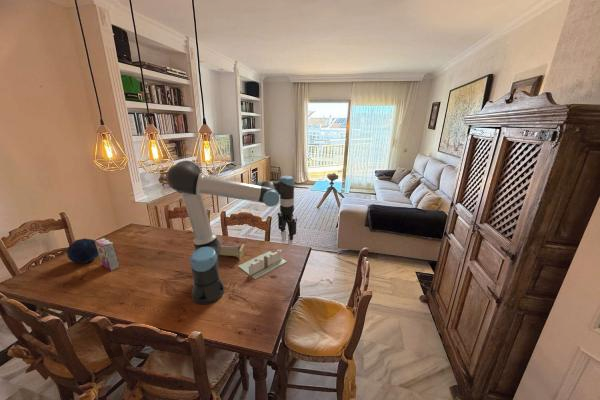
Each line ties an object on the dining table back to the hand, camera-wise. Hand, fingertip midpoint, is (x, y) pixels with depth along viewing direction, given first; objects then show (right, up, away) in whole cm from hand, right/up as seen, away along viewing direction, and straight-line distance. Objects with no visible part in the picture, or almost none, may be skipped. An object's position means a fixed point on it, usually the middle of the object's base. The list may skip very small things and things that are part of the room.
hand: (287, 242), depth 135 cm
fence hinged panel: (-8, -13, +10) cm, 18 cm away
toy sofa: (-40, -11, +17) cm, 45 cm away
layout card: (-15, -14, +9) cm, 23 cm away
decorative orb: (-123, -13, +9) cm, 124 cm away
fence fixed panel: (-17, -16, +2) cm, 23 cm away
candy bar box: (-104, -15, +4) cm, 105 cm away
